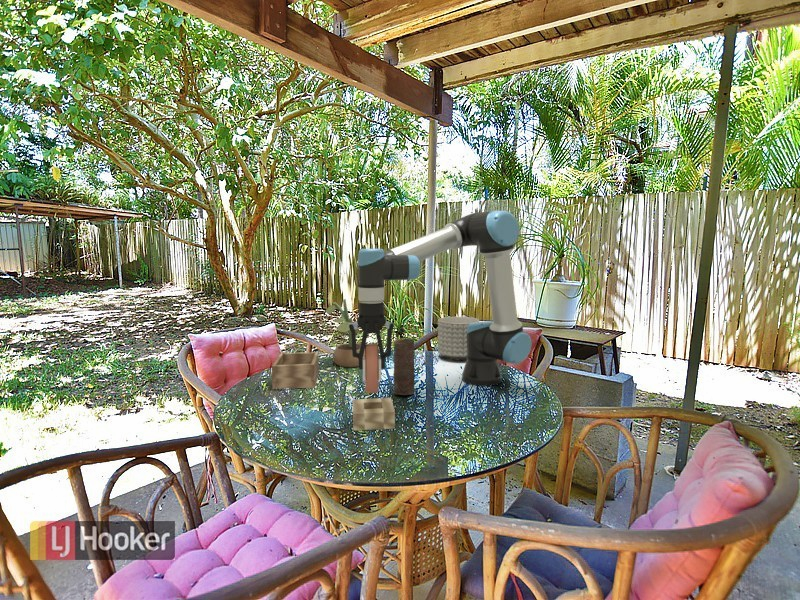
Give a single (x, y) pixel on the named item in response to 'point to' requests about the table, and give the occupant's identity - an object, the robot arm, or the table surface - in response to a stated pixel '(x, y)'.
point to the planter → (453, 336)
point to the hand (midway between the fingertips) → (371, 379)
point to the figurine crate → (295, 370)
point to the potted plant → (344, 351)
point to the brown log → (404, 366)
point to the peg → (371, 368)
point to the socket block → (373, 414)
